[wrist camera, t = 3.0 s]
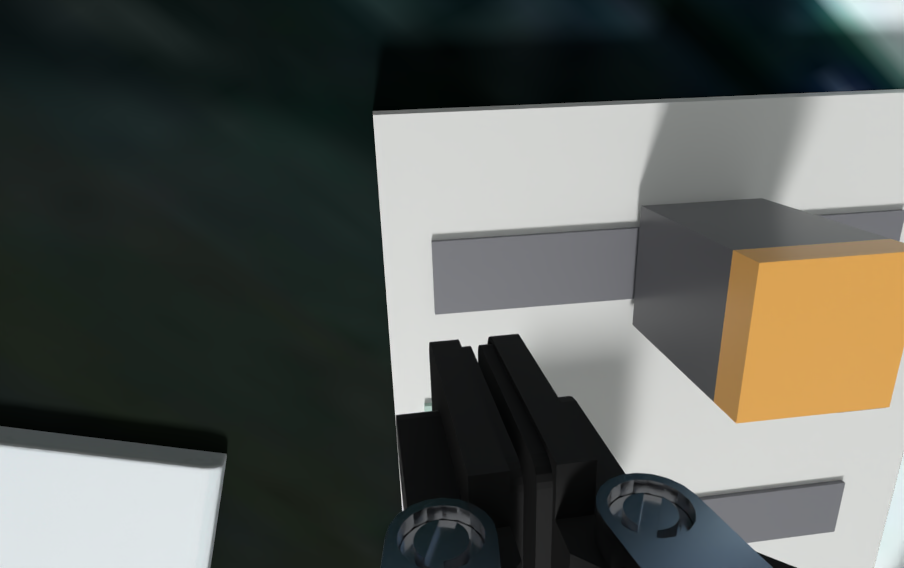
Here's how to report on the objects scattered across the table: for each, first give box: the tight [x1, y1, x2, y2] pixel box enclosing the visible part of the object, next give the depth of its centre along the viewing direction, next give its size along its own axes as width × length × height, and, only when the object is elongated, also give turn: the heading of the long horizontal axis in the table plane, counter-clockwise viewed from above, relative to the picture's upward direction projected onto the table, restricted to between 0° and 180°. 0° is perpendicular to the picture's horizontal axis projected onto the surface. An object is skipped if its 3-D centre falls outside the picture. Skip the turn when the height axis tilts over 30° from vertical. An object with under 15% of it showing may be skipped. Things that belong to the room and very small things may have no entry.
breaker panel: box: [373, 89, 904, 568], centre depth 22 cm, size 20×20×2 cm
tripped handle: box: [632, 198, 904, 423], centre depth 17 cm, size 4×4×6 cm
